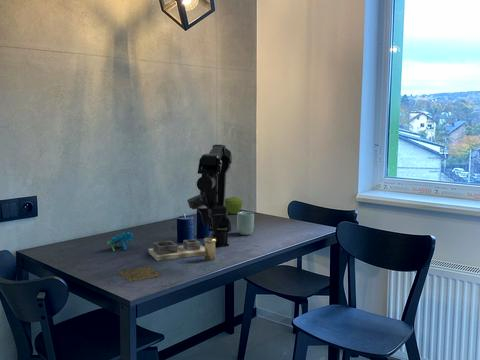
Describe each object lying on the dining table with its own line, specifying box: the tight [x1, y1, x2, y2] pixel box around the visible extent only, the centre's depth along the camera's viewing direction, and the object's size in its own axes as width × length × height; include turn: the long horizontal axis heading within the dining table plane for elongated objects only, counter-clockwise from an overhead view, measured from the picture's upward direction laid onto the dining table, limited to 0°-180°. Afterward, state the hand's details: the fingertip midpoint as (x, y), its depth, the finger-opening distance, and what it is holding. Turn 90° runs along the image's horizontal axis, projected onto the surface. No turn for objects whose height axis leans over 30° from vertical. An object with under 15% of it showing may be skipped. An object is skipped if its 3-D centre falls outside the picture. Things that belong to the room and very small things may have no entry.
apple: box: [225, 196, 243, 215], centre depth 274 cm, size 11×10×10 cm
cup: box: [236, 211, 255, 236], centre depth 226 cm, size 8×8×10 cm
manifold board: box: [148, 238, 205, 261], centre depth 192 cm, size 22×12×4 cm, turn 116°
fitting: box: [203, 237, 216, 262], centre depth 184 cm, size 5×5×8 cm
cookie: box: [118, 266, 163, 283], centre depth 166 cm, size 12×12×1 cm
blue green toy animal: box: [106, 231, 134, 253], centre depth 196 cm, size 11×6×10 cm
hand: (209, 228), depth 183 cm, fingers open, 9 cm apart
